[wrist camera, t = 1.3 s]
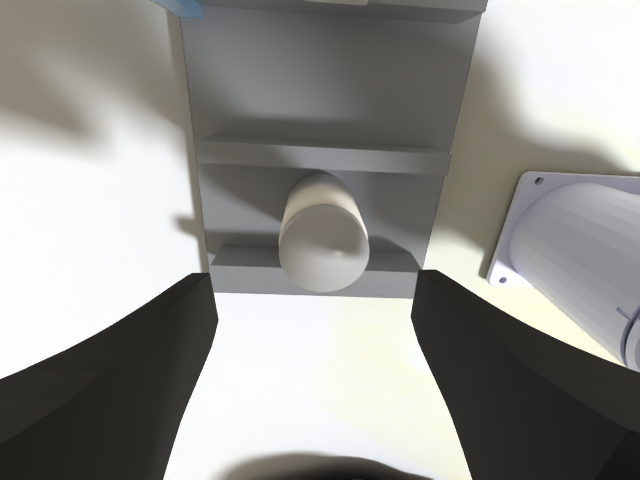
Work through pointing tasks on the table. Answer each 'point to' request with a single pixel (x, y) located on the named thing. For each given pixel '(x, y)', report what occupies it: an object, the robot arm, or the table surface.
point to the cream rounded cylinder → (322, 235)
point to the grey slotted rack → (323, 124)
